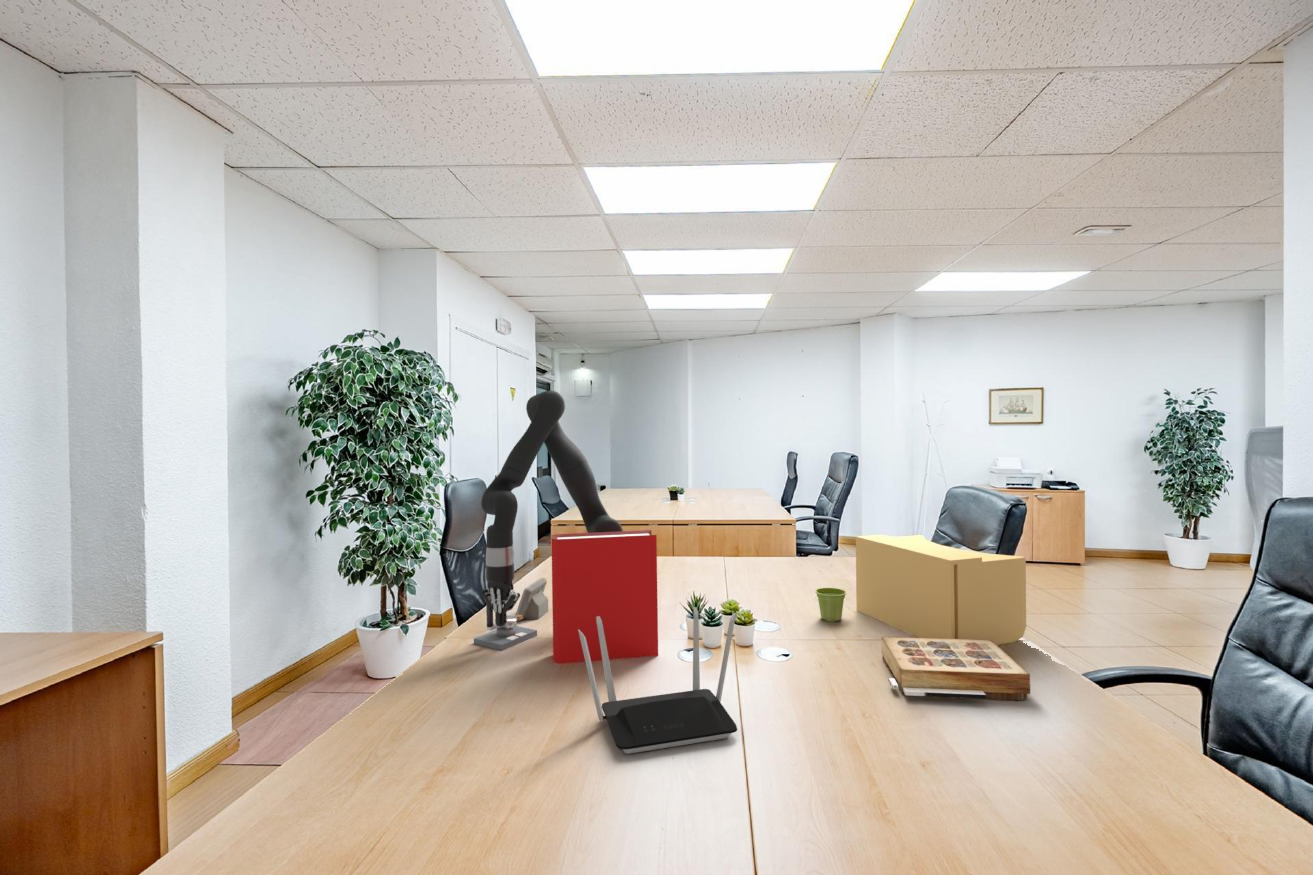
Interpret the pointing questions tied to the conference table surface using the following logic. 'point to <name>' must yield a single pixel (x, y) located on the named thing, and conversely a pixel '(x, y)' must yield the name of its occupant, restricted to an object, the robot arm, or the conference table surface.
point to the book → (604, 594)
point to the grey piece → (510, 619)
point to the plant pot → (831, 603)
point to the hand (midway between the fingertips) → (500, 625)
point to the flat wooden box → (953, 669)
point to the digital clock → (533, 601)
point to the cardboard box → (941, 589)
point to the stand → (505, 637)
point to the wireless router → (663, 706)
